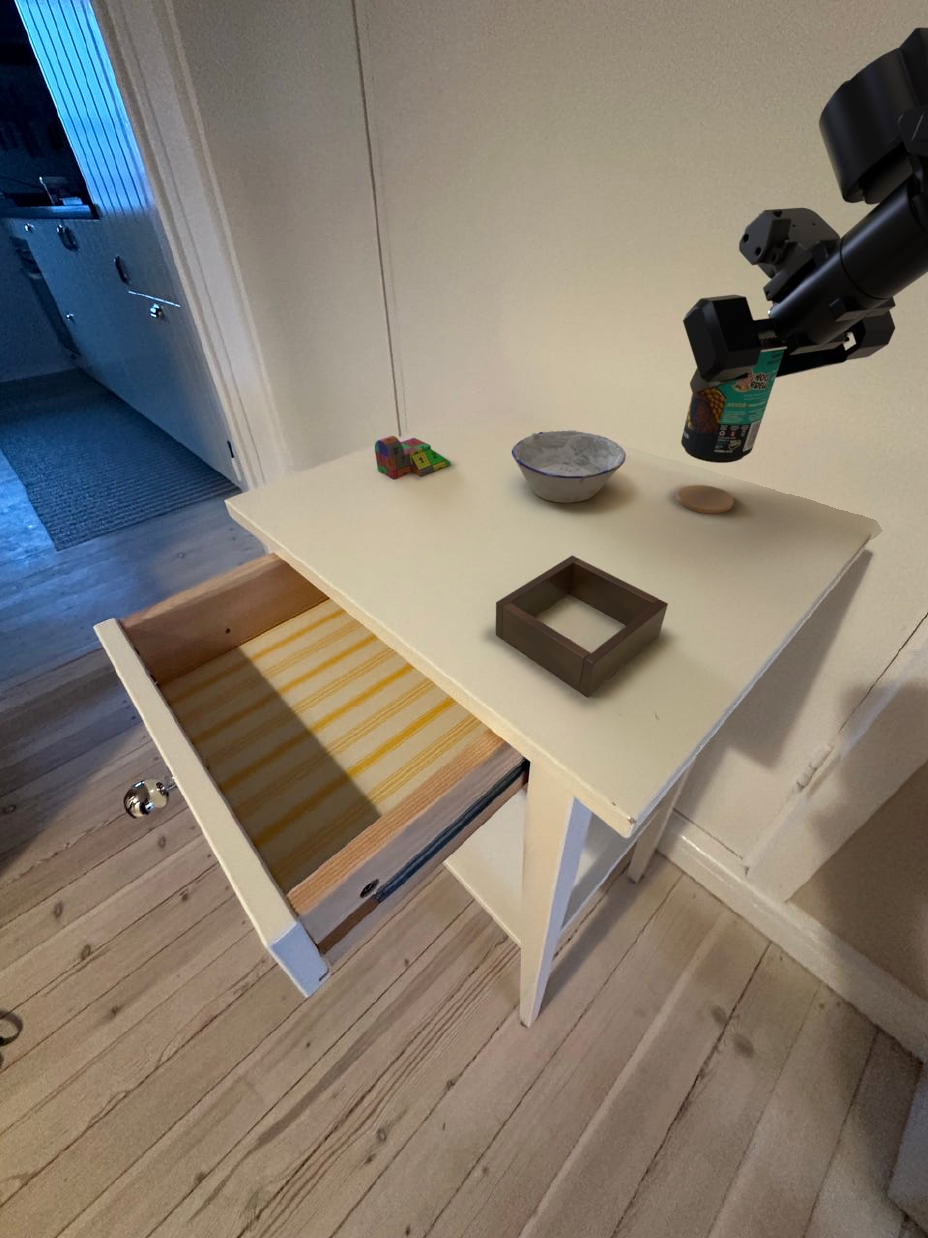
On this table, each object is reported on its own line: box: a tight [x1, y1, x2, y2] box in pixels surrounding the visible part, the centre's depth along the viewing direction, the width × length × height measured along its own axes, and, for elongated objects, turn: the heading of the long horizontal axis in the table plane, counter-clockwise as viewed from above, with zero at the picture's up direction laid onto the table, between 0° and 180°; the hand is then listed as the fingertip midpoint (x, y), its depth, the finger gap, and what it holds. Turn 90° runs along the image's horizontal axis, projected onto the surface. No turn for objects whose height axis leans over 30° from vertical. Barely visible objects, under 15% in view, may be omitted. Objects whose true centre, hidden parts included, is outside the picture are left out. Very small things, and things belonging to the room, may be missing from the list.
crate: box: [495, 554, 669, 697], centre depth 43 cm, size 10×10×4 cm
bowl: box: [511, 429, 627, 504], centre depth 63 cm, size 13×13×5 cm
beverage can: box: [680, 349, 784, 464], centre depth 52 cm, size 7×7×12 cm
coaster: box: [676, 484, 735, 514], centre depth 61 cm, size 6×6×1 cm
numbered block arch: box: [374, 435, 451, 480], centre depth 68 cm, size 8×5×4 cm
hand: (722, 383), depth 53 cm, fingers closed on beverage can, 7 cm apart
